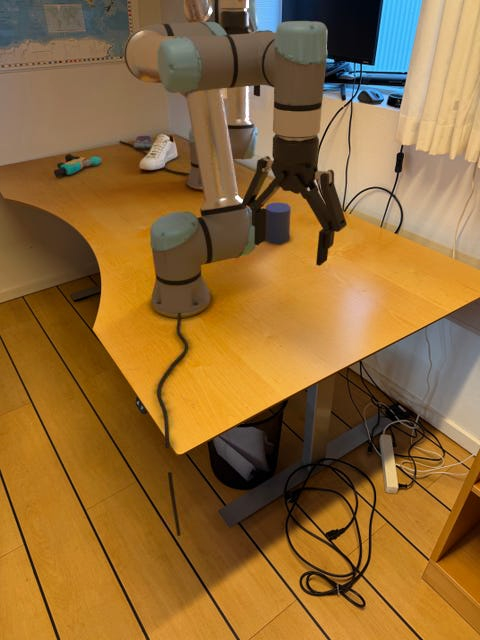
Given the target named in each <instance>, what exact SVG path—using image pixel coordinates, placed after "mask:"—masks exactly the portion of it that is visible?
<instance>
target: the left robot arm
mask: <svg viewBox="0 0 480 640" xmlns="http://www.w3.org/2000/svg"><path fill="white" fill-rule="evenodd" d="M327 43H328V28H327V25H325V23H323V22H321V21H310V20H290V21H282V22H280V23H279V24H278V25H277V27H276V31H275V32H273V30H268V29H266V30H258V31H254V32H252V33H250V34H235V35H227V34H226V32H225V30H224V29H223V28H222V27H221V26H220V25H219V24H218V23H215V22H203V21H198V22H173V23H171V22H170V23H153V24H148V25H146V26H143V27H141V28H139V29H137V30H135V31H133V32H132V33H131V34H130V35H129V36H128V38H127V39H126V41H125V44H124V47H123V59H124V63H125V66H126V68H127V69H128V71H129V72H130V74H131V75H132V76H133V77H135V78H136V79H137V80H140V81H142V82H146V83H154V84H159V83H160V84H162V86H163V88H164V89H165V91H166V92H168V93H171V94H177V93H178V94H180V95H182V96H183V97H184V98H185V100H186V104H187V110H188V115H189V122H190V125H191V126H190V127H191V128H192V132H193V138H194V143H195V149H196V155H197V160H198V166H199V172H200V177H201V183H202V189H203V191H202V192H203V199H204V201H203V204H201V205H202V206H201V207H200V208H199V212H200V216H199V217H198V216H197V215H196V214H195V213H193V212H191V211H174V212H170V213H167V214H165V215H162V216H161V217H159V218H157V219H156V220H155V221H154V222H153V223H152V224H151V226H150V231H149V233H150V234H149V236H150V237H149V238H150V240H149V241H150V242H149V243H150V248H151V253H152V260H153V261H152V262H153V268H154V274H155V275H154V276H155V281H154V284H153V290H152V294H151V305H152V308H153V310H154V311H155V312H156V313H157V314H159V315H160V316H163V317H167V318H171V319H177V321H176V322H177V323H176V334H177V336H178V337H179V338H180V340H181V341H182V343H183V344H184V348H183V351H182V352H181V354H179V356H178V357H177V358H175V359H174V360H173V362H171V364H170V365H169V366H168V368H167V369H166V371H165V373H164V374H163V375H162V377H161V378H160V380H159V382H158V385H157V389H156V390H157V391H156V397H157V400H158V403H159V406H160V408H161V411H162V414H163V421H164V442H165V448H166V449H170V445H171V444H170V433H169V431H170V428H169V417H168V416H169V415H168V411H167V408H166V405H165V403H164V401H163V398H162V393H161V392H162V388H163V387H162V386H163V384H164V382H165V380H166V379H167V377H168V376H169V374H170V373H171V371H172V370H173V368H174V367H175V366H176V365H177V364H178V363H179V362H180V361H181V360H182V359H183V358H184V357H185V356H186V354H187V352H188V348H189V344H188V341H187V339H186V338H185V337H184V336H183V334H182V333H181V320H182V319H183V318H185V319H186V318H190V317H194V316H196V315H199V314H201V313H202V312H204V311H205V310H207V308H208V307H209V306H210V303H211V294H210V290H209V288H208V286H207V284H206V281H205V278H204V277H203V275H202V266H204V265H208V264H214V263H219V262H222V261H227V260H232V259H239V258H241V257H244V256H249V255H251V254H252V253H253V252H254V251H255V249H256V247H257V246H259V245H261V244H262V243H263V242H265V241H266V207H264V206H265V205H266V203H267V202H268V201H269V200H270V199H271V198H272V197H273V196H274V195H275V194H276V193H277V192H278V191H279V190H280V188H281V190H282V191H284V192H292V193H293V194H296V195H299V194H300V195H301V197H302V199H304V200H306V202H307V204H308V206H309V208H310V209H311V211H312V212H313V214H314V216H315V218H316V219H317V221H318V223H319V225H320V226H321V228H322V229H321V230H319V231H318V241H317V252H316V263H315V265H316V266H319V267H320V266H322V265H323V264H324V263H325V262H326V261H328V254H329V249H330V248H331V247H333V246H334V242H335V233H339V232H340V231H342V230H343V229H344V228H346V227H347V220H346V217H345V214H344V210H343V208H342V204H341V202H340V198H339V194H338V191H337V189H336V186H335V171H334V170H333V169H328V170H326V171H324V170H318V167H317V161H318V157H319V145H320V136H318V135H319V134H320V132H321V123H322V111H323V110H322V109H323V107H322V106H323V97H324V89H325V80H326V67H327V58H328V49H327V47H328V44H327ZM257 85H260V86H270V87H272V88H273V114H272V116H273V117H272V120H273V121H272V132H273V133H274V135H273V137H272V152H271V155H272V159H273V160H272V159H271V157H270V156H268V155H266V156H264V157H262V158H260V159H257V161H256V169H255V173H254V175H253V177H252V179H251V182H250V183H249V186H248V188H247V190H246V193H245V194H244V197H243V198H242V197H240V195H239V190H238V183H237V177H236V170H235V164H234V159H233V157H232V151H231V144H230V138H229V132H228V126H227V113H226V107H225V102H224V95H223V92H224V90H225V89H227V88H236V87H247V86H250V87H254V86H257ZM269 172H272V174H273V176H274V179H273V180H272V181H271V182H270V183H269V184H268V186H267V187H266V188H265V189H264V190H263V192H262V193H261V194H260V195H259V193H260V191H261V189H262V187H263V186H264V185H263V184H264V183H265V181H266V179H267V176H268V174H269ZM315 180H317V184H316V181H315ZM318 185H319V187H320V191H321V193H320V192H319V187H318ZM308 189H309V190H308ZM258 195H259V196H258ZM167 477H168V485H169V493H170V500H171V506H172V512H173V518H174V524H175V530H176V536H177V537H180V536H181V528H180V521H179V516H178V509H177V503H176V495H175V489H174V481H173V480H174V479H173V472H169V471H168V472H167Z"/></svg>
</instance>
